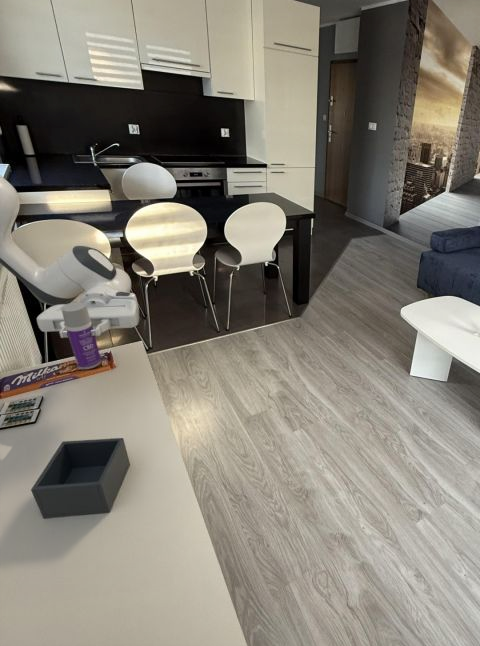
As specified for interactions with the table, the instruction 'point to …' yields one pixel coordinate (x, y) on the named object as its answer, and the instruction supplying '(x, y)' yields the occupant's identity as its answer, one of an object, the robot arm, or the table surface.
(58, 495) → the bin
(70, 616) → the table surface
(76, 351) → the container
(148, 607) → the table surface
